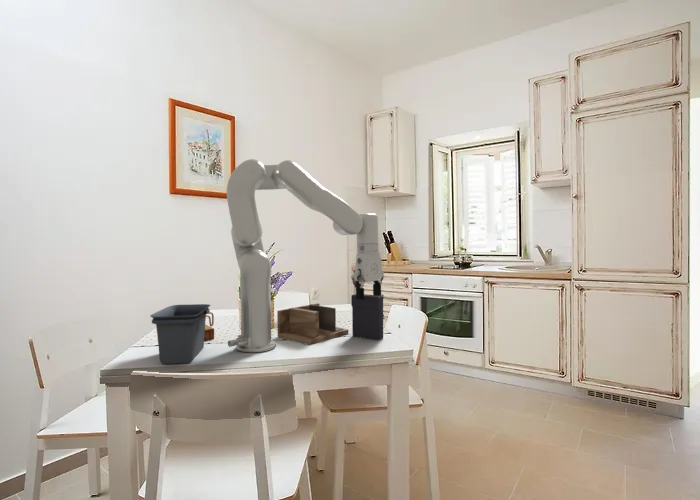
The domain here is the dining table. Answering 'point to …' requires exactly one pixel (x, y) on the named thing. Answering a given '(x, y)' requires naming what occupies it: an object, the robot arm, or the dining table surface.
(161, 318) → the storage bin
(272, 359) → the dining table surface
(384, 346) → the dining table surface
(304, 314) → the wooden desk organizer
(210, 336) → the green handled box
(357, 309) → the black upright block
